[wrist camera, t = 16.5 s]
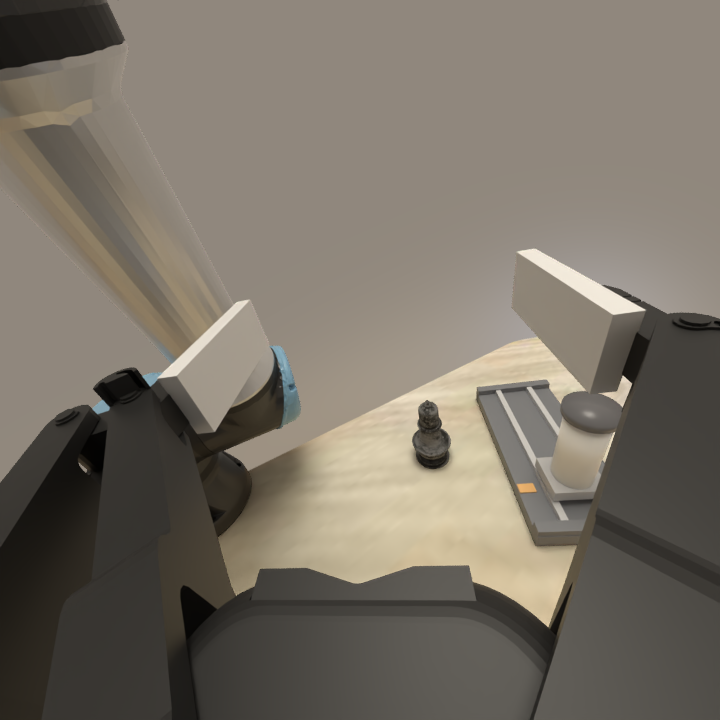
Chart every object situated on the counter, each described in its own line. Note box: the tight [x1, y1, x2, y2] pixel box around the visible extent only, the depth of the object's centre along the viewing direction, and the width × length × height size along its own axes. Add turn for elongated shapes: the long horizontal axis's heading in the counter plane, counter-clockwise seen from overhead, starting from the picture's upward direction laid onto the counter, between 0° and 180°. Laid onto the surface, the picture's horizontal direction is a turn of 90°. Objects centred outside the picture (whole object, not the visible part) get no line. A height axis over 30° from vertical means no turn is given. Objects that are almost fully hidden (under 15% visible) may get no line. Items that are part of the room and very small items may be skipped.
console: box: [476, 380, 605, 546], centre depth 43 cm, size 12×26×3 cm, turn 177°
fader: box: [535, 391, 623, 501], centre depth 33 cm, size 6×5×13 cm
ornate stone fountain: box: [412, 400, 451, 469], centre depth 44 cm, size 6×6×12 cm
